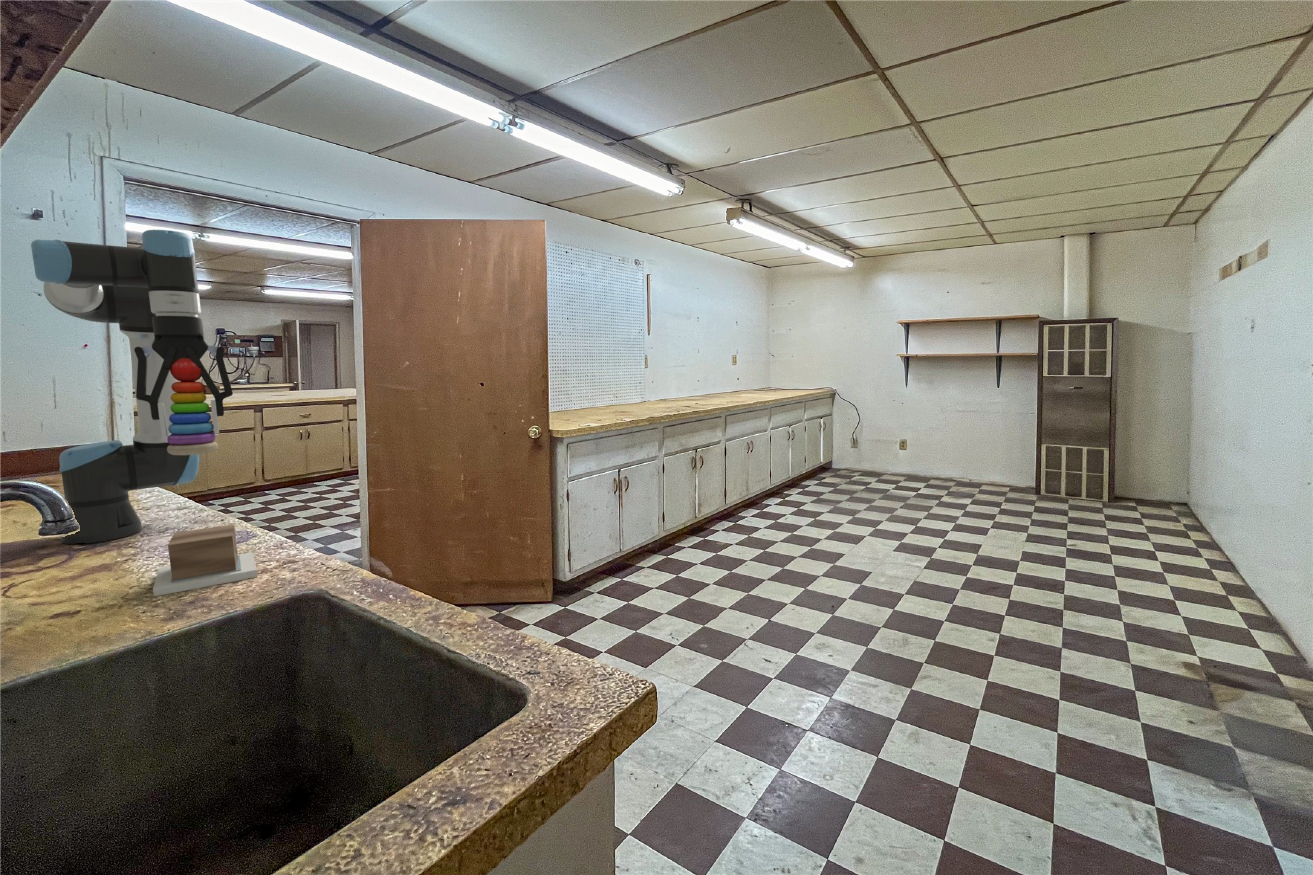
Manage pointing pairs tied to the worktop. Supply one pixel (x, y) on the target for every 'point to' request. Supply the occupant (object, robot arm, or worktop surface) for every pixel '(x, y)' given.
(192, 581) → the baseplate
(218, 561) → the walnut block
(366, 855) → the worktop surface
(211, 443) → the stacking toy
